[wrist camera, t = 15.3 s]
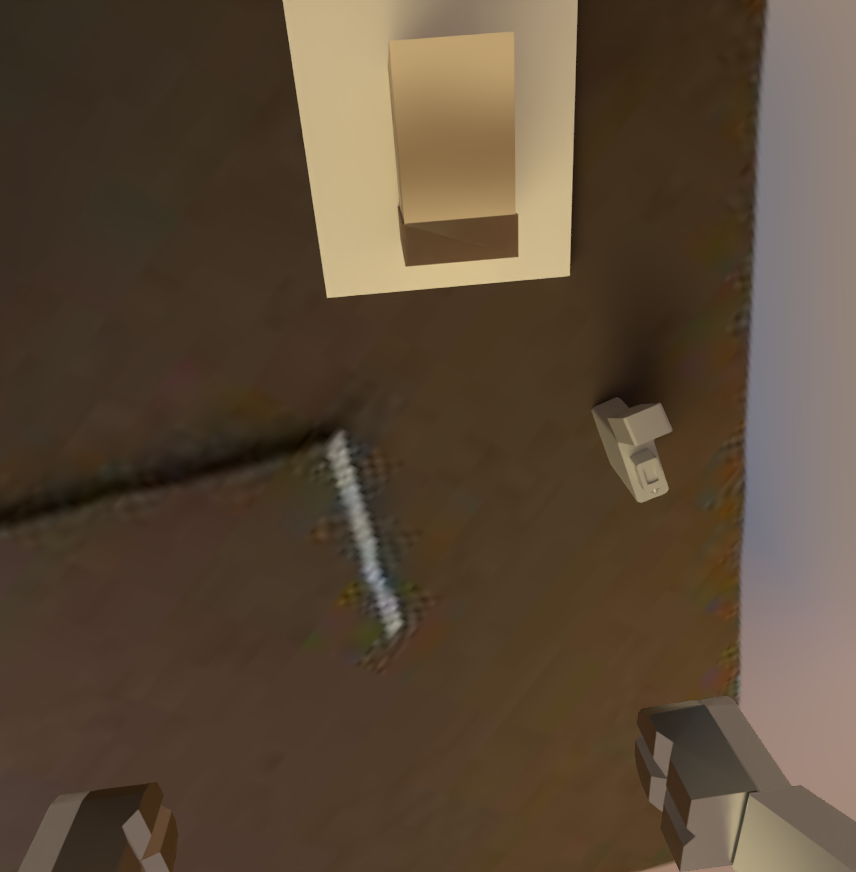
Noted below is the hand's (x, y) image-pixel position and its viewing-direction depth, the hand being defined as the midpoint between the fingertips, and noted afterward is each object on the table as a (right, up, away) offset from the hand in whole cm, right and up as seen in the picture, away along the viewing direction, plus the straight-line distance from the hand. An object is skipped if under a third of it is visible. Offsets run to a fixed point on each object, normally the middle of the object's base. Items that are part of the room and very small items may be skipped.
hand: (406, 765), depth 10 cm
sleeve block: (+1, +18, +17) cm, 25 cm away
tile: (+1, +19, +17) cm, 26 cm away
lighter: (+11, +7, +24) cm, 27 cm away
